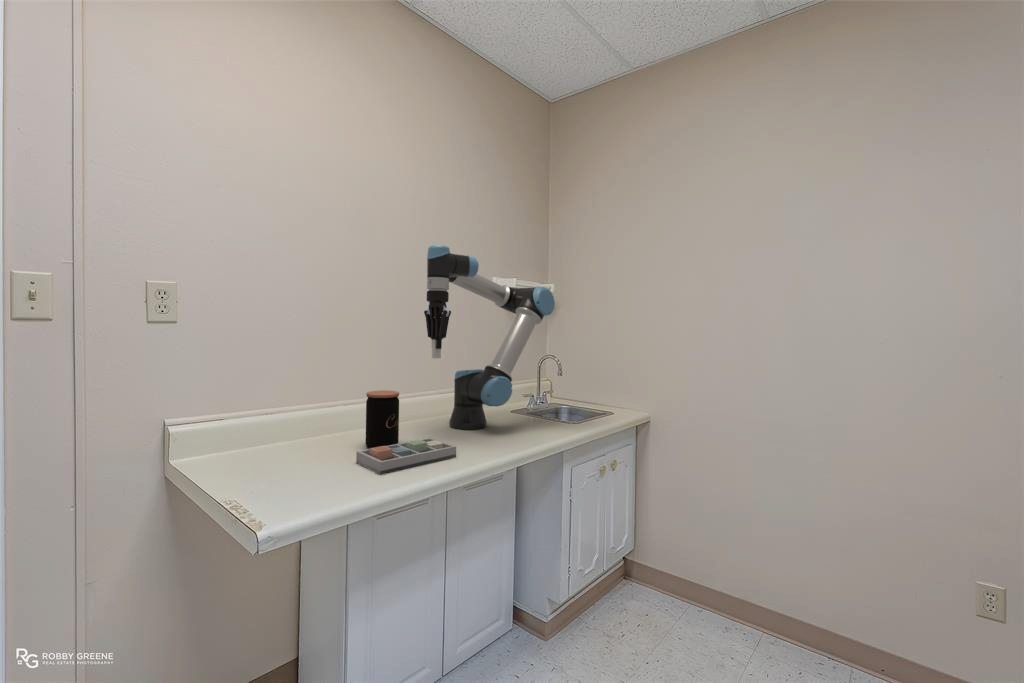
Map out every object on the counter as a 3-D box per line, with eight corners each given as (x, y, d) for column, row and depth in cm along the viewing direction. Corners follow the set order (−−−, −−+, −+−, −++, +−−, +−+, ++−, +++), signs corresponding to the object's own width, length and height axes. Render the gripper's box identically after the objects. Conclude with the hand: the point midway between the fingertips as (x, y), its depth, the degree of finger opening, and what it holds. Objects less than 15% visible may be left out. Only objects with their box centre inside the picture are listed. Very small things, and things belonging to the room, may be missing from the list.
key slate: (401, 454, 140) (401, 446, 140) (410, 457, 137) (410, 449, 136) (388, 457, 137) (388, 448, 136) (396, 460, 133) (396, 451, 133)
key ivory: (434, 447, 148) (434, 439, 148) (442, 450, 145) (442, 442, 145) (422, 450, 145) (422, 442, 145) (430, 453, 142) (430, 445, 142)
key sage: (418, 446, 144) (418, 438, 144) (427, 450, 141) (427, 441, 141) (405, 449, 141) (405, 441, 141) (414, 452, 137) (414, 444, 137)
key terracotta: (384, 453, 136) (384, 445, 135) (392, 457, 132) (392, 448, 132) (369, 456, 132) (369, 447, 132) (377, 460, 129) (377, 451, 129)
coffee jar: (389, 451, 147) (390, 395, 147) (359, 448, 149) (360, 394, 149) (403, 443, 158) (404, 391, 157) (375, 440, 160) (376, 389, 159)
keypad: (430, 447, 153) (430, 437, 153) (456, 457, 143) (456, 446, 143) (356, 462, 134) (356, 451, 134) (380, 474, 125) (380, 462, 124)
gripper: (418, 290, 161) (416, 357, 162) (440, 289, 152) (438, 359, 153) (435, 291, 167) (434, 356, 168) (457, 290, 157) (456, 359, 158)
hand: (436, 358), depth 160 cm, fingers closed
